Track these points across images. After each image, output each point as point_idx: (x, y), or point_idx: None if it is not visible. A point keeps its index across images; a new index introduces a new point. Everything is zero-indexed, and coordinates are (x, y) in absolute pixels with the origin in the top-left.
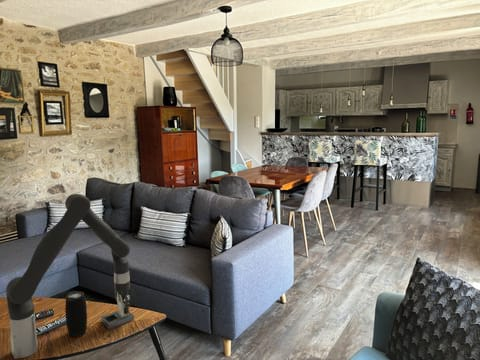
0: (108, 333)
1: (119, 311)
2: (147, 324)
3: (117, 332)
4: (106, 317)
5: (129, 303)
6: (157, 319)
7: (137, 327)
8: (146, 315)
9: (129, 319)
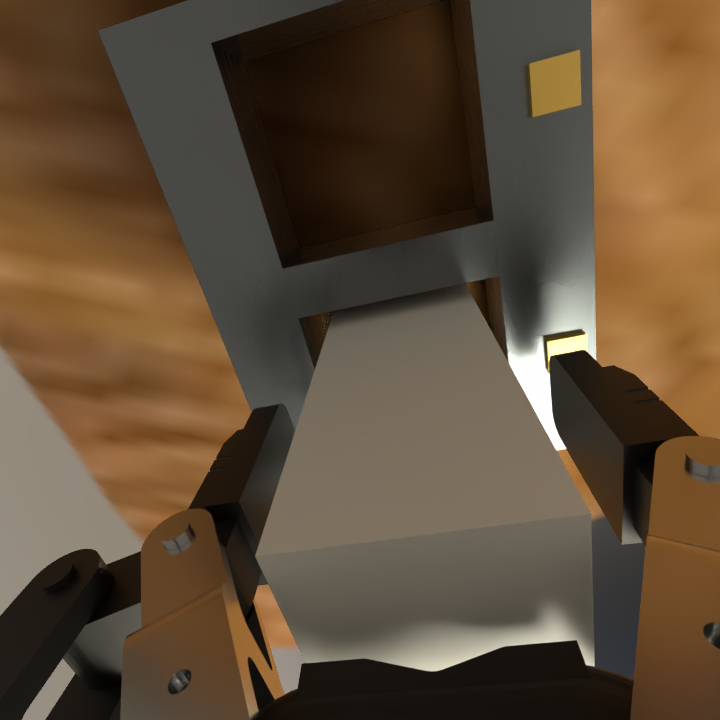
0: (17, 11)
1: (403, 346)
2: (138, 528)
3: (24, 174)
4: (471, 33)
5: (80, 715)
6: None
7: (101, 434)
8: None
9: None
